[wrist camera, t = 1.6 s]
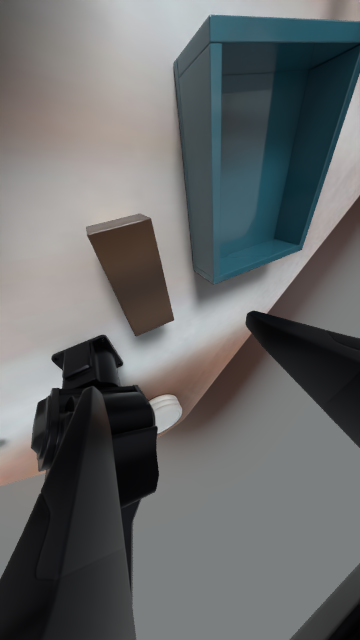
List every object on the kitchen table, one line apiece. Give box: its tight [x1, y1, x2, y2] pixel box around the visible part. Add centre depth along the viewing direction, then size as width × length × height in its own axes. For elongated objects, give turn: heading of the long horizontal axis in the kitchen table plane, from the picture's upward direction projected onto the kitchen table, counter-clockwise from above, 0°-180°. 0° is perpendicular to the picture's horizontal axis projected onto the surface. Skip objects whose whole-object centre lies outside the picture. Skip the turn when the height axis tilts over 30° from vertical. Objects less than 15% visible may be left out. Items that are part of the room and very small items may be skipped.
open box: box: [174, 15, 360, 284], centre depth 17 cm, size 16×14×5 cm
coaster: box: [149, 394, 182, 433], centre depth 37 cm, size 10×10×4 cm
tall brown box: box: [86, 214, 174, 336], centre depth 17 cm, size 10×4×5 cm, turn 9°
